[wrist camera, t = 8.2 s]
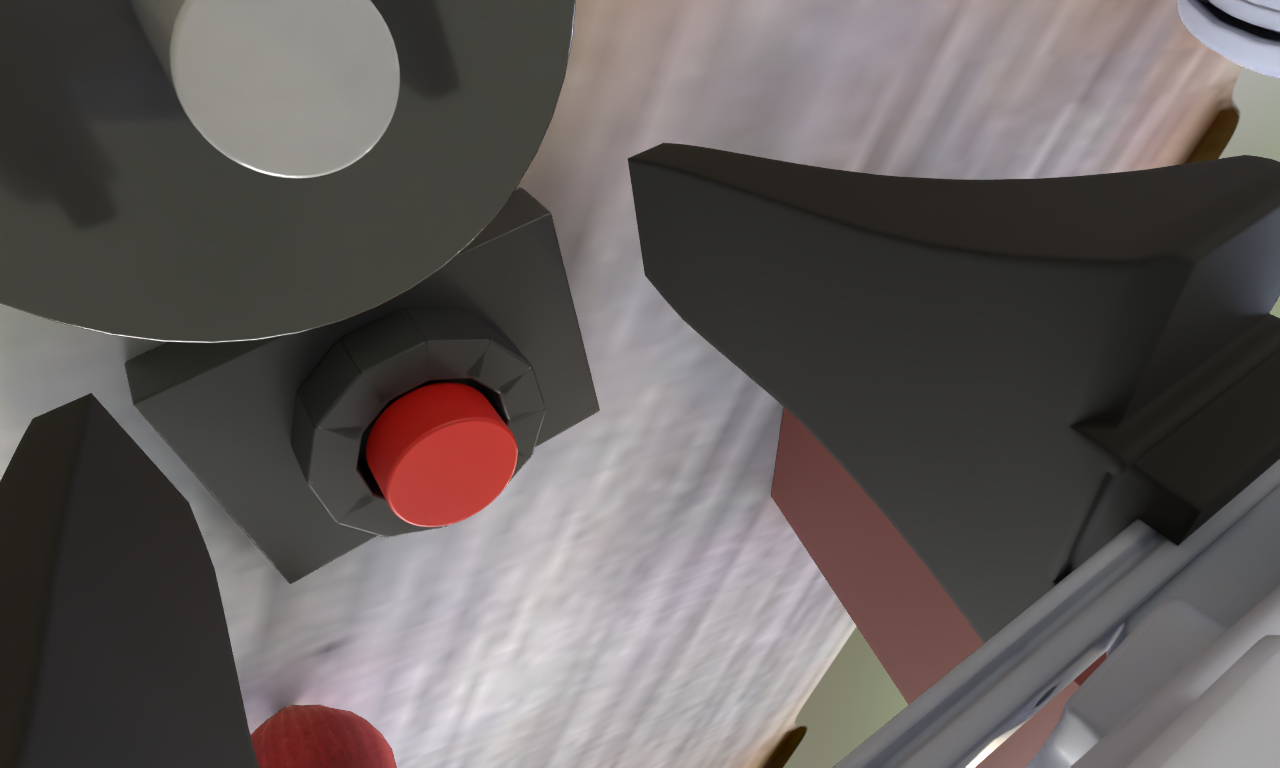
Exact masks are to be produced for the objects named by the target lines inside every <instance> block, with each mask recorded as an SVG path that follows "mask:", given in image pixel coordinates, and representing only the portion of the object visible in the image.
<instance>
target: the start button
mask: <svg viewBox="0 0 1280 768" xmlns="http://www.w3.org/2000/svg"><path fill="white" fill-rule="evenodd" d="M517 457H518V450H517V443H516V440H515V437H514V435H513V434H512V432H511V431H510V430H509V428H508V427H507V425H506V424H505V423H504V421H503V420H502V419H501V417H500V416H499V415H498V413H497V412H496V411H495V409H494V408H493V407H492V405H491V404H490V403H489V401H488V400H487V399H486V397H485V396H484V395H483V394H482V393H481V392H479V391H478V390H476V389H475V388H472V387H470V386H468V385H464V384H461V383H454V382H441V383H434V384H429V385H425V386H422V387H419V388H417V389H415V390H412V391H410V392H408V393H406V394H405V395H403V396H401V397H400V398H398V399H397V400H396V401H394V402H393V403H392V404H391V405H390V406H388V407H387V408H386V409H385V410H384V412H383V413H382V414H381V415H380V416H379V418H378V419H377V420H376V422H375V423H374V425H373V427H372V429H371V431H370V434H369V436H368V440H367V446H366V459H367V462H368V466H369V468H370V470H371V472H372V474H373V476H374V478H375V480H376V481H377V483H378V485H379V487H380V489H381V491H382V493H383V495H384V497H385V499H386V501H387V503H388V505H389V507H390V509H391V510H392V511H393V513H394V514H395V515H396V516H398V517H399V518H400V519H402V520H404V521H405V522H407V523H410V524H412V525H416V526H422V527H438V526H445V525H449V524H453V523H456V522H459V521H461V520H464V519H466V518H468V517H470V516H472V515H474V514H476V513H477V512H479V511H481V510H482V509H483V508H485V507H486V506H487V505H489V504H490V503H491V502H492V501H493V500H494V499H495V498H496V497H497V496H498V495H499V494H500V493H501V492H502V491H503V490H504V488H505V487H506V486H507V484H508V482H509V481H510V479H511V477H512V475H513V473H514V470H515V468H516V464H517Z"/></svg>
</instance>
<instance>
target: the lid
mask: <svg viewBox="0 0 1280 768" xmlns="http://www.w3.org/2000/svg"><path fill="white" fill-rule="evenodd" d="M575 5H576V0H0V303H1V304H4V305H7V306H10V307H13V308H16V309H18V310H21V311H24V312H27V313H30V314H33V315H36V316H39V317H42V318H45V319H48V320H51V321H54V322H58V323H62V324H66V325H71V326H75V327H79V328H83V329H88V330H92V331H96V332H101V333H105V334H109V335H116V336H124V337H131V338H139V339H147V340H154V341H162V342H191V343H220V342H235V341H250V340H260V339H266V338H272V337H277V336H283V335H289V334H295V333H300V332H304V331H308V330H311V329H315V328H318V327H322V326H325V325H329V324H333V323H336V322H340V321H342V320H345V319H347V318H350V317H352V316H355V315H357V314H360V313H362V312H365V311H367V310H370V309H372V308H375V307H377V306H379V305H381V304H383V303H385V302H387V301H388V300H390V299H392V298H394V297H396V296H398V295H400V294H402V293H404V292H405V291H407V290H409V289H411V288H412V287H414V286H415V285H417V284H418V283H420V282H421V281H423V280H424V279H426V278H427V277H429V276H430V275H432V274H433V273H434V272H436V271H437V270H439V269H440V268H442V267H443V266H444V265H445V264H447V263H448V262H449V261H450V260H451V259H452V258H454V257H455V256H456V255H457V254H458V253H459V252H461V251H462V250H463V249H464V248H465V247H466V246H467V245H469V244H470V243H471V242H472V241H473V240H474V239H475V238H476V236H477V235H478V234H479V233H480V232H481V231H482V230H483V229H484V228H485V227H486V226H487V225H488V224H489V222H490V221H491V220H492V219H493V218H494V217H495V216H496V215H497V213H498V212H499V211H500V209H501V208H502V207H503V205H504V204H505V202H506V201H507V200H508V198H509V197H510V196H511V194H512V193H513V192H514V190H515V189H516V188H517V186H518V185H519V183H520V181H521V179H522V178H523V176H524V174H525V173H526V171H527V169H528V167H529V166H530V164H531V162H532V160H533V159H534V157H535V155H536V153H537V151H538V149H539V147H540V145H541V142H542V140H543V138H544V135H545V133H546V131H547V129H548V126H549V124H550V122H551V119H552V117H553V114H554V111H555V107H556V104H557V101H558V98H559V95H560V91H561V88H562V85H563V82H564V79H565V74H566V69H567V63H568V58H569V53H570V48H571V43H572V38H573V28H574V17H575Z"/></svg>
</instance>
